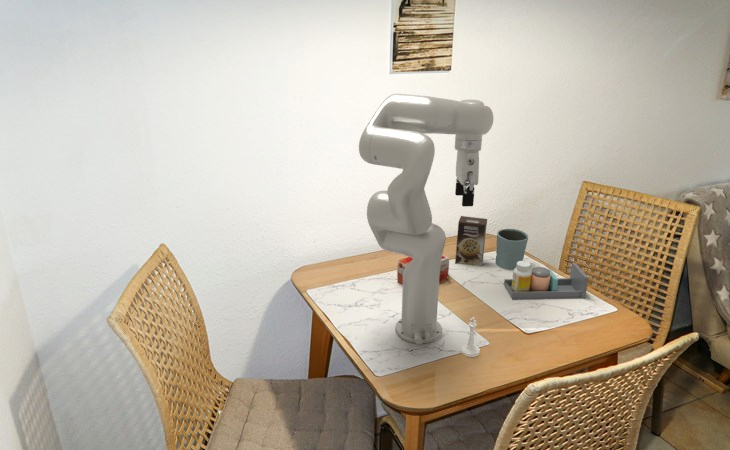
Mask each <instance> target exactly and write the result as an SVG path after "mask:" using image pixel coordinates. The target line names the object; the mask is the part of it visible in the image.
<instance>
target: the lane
mask: <svg viewBox="0 0 730 450" xmlns="http://www.w3.org/2000/svg"><path fill="white" fill-rule="evenodd" d="M557 278H558V277H557ZM589 278H590V277H589V276H588V275H587V274H586V273H585V272H584V271H583V270H582V268H581V267H580V266H579V265H578V264H577V263H576V262H572V263H571V267H570V274H569V277H566V278H565V277H561V278H558V284H557V291H536V292H512V290H511V287H512V279H513V278H511V279H509V278H508V279H504V280H503V286H504V288H505V289H506V291H507V293H508V295H509V296H510V298H511V299H512V301H525V300H526V301H533V300H575V299H576V300H584V299H586V296H587V289H588V284H589Z"/></svg>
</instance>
